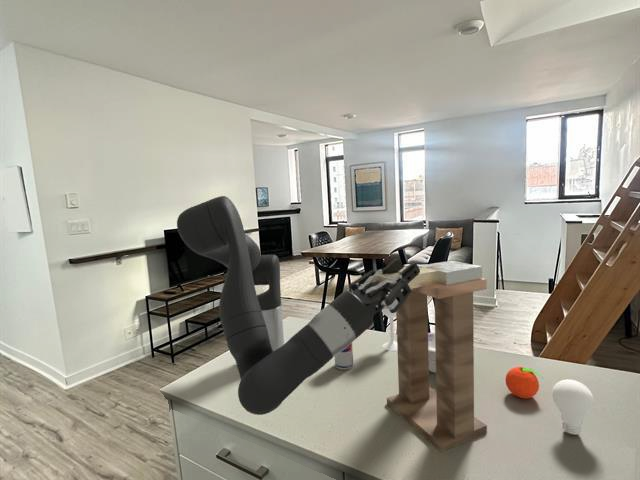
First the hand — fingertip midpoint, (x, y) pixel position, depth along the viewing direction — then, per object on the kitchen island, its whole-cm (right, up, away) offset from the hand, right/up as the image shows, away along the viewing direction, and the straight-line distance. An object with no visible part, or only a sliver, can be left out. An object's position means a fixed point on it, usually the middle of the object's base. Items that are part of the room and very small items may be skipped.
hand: (407, 264), depth 65 cm
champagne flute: (+7, -31, +49) cm, 58 cm away
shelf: (+9, -34, +12) cm, 37 cm away
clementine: (+32, -33, +18) cm, 49 cm away
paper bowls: (+19, -32, +33) cm, 50 cm away
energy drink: (-9, -33, +38) cm, 51 cm away
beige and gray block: (+4, -4, +2) cm, 6 cm away
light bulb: (+34, -34, +4) cm, 48 cm away
